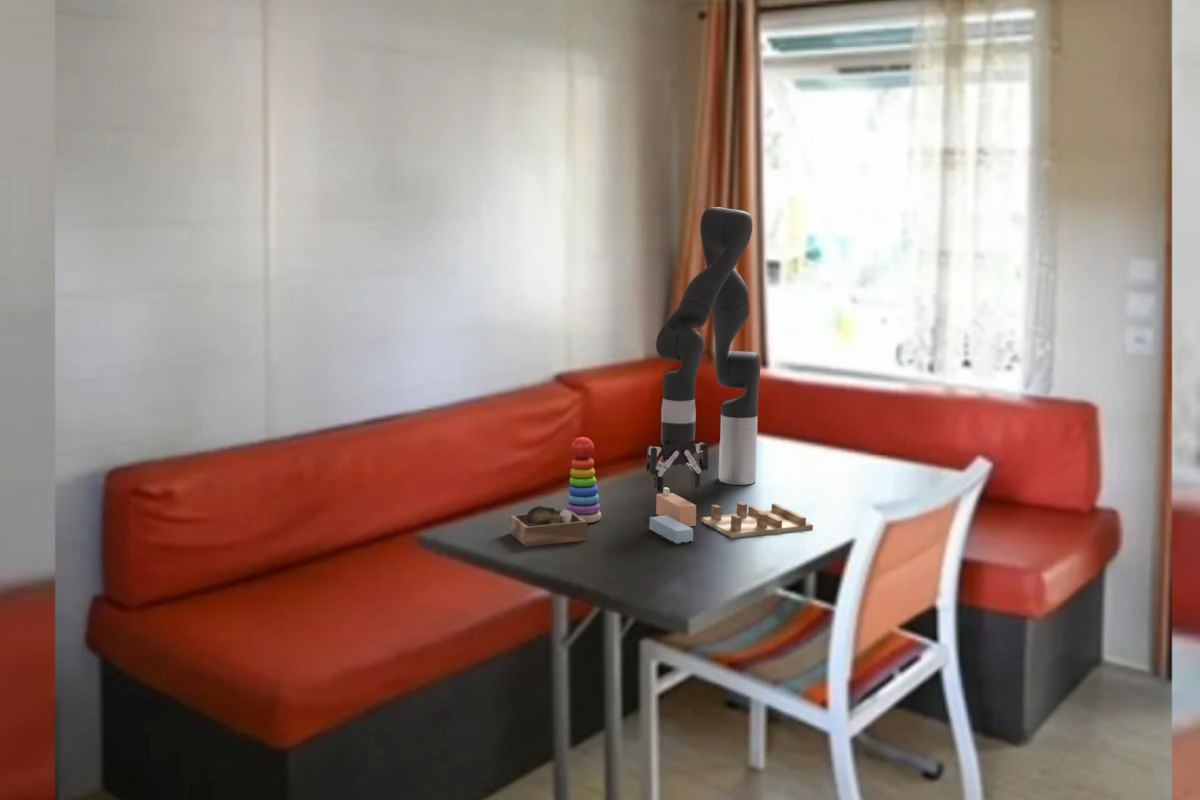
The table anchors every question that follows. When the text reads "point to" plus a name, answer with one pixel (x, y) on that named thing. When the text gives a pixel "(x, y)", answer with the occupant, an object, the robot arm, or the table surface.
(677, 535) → the light blue rectangular block
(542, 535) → the open wooden box
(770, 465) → the table surface
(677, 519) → the knobbed wooden block
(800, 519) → the jig
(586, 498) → the stacking toy
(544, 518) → the eagle figurine
